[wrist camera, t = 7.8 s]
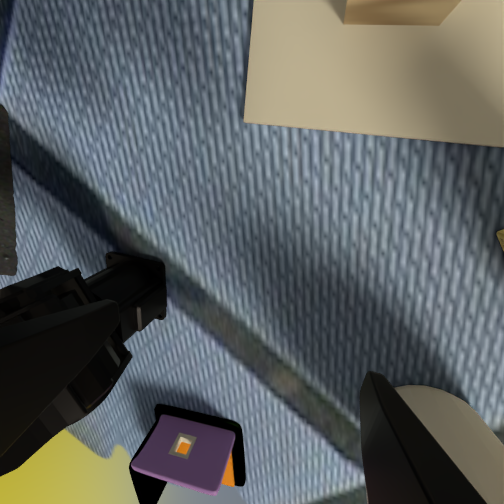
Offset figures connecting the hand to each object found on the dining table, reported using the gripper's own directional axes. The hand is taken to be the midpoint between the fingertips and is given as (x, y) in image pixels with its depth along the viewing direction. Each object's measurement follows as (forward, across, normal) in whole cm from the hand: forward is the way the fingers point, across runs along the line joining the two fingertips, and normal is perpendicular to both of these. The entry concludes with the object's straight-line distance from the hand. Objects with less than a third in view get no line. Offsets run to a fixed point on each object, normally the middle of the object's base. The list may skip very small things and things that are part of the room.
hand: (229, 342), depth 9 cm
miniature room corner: (+14, +6, +30) cm, 34 cm away
